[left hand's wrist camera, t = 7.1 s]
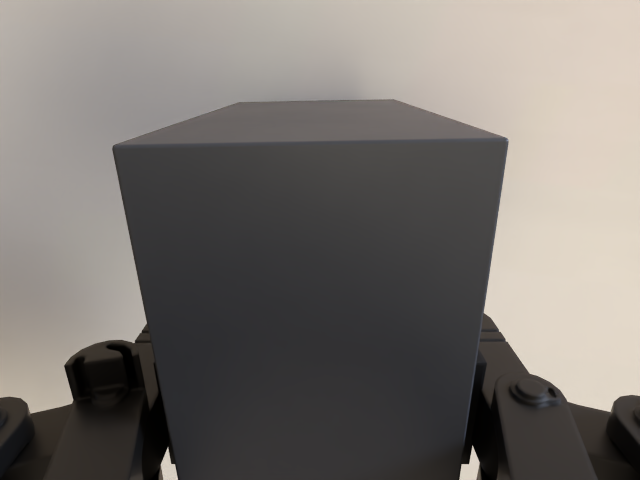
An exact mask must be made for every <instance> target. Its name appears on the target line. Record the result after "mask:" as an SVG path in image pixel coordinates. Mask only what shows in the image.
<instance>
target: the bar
mask: <svg viewBox="0 0 640 480" xmlns="http://www.w3.org/2000/svg"><path fill="white" fill-rule="evenodd" d="M507 149H508V139H507V138H505V137H502V136H499V135H496V134H493V133H490V132H488V131H485V130H482V129H479V128H476V127H473V126H470V125H467V124H464V123H461V122H458V121H455V120H452V119H449V118H447V117H444V116H441V115H438V114H435V113H432V112H429V111H426V110H423V109H420V108H417V107H414V106H411V105H408V104H406V103H403V102H400V101H397V100H394V99H393V100H340V101H287V102H239V103H236V104H233V105H230V106H227V107H224V108H221V109H218V110H215V111H212V112H209V113H207V114H204V115H201V116H198V117H195V118H192V119H189V120H186V121H183V122H180V123H177V124H174V125H171V126H168V127H165V128H163V129H160V130H157V131H154V132H151V133H148V134H145V135H142V136H139V137H136V138H133V139H130V140H127V141H124V142H121V143H119V144H116V145H114V146H113V154H114V159H115V164H116V169H117V175H118V180H119V185H120V190H121V195H122V200H123V205H124V210H125V215H126V220H127V225H128V230H129V235H130V240H131V245H132V250H133V255H134V260H135V265H136V270H137V275H138V280H139V285H140V290H141V295H142V300H143V305H144V310H145V315H146V320H147V325H148V330H149V335H150V340H151V345H152V350H153V355H154V360H155V365H156V370H157V375H158V380H159V386H160V391H161V396H162V401H163V406H164V411H165V416H166V421H167V426H168V431H169V436H170V441H171V446H172V451H173V456H174V461H175V466H176V471H177V476H178V480H459V477H460V471H461V464H462V457H463V450H464V443H465V436H466V429H467V423H468V416H469V409H470V402H471V395H472V388H473V382H474V375H475V368H476V361H477V354H478V347H479V340H480V334H481V327H482V320H483V313H484V306H485V299H486V292H487V286H488V279H489V272H490V265H491V258H492V251H493V245H494V238H495V231H496V224H497V217H498V210H499V203H500V197H501V190H502V183H503V176H504V169H505V162H506V155H507Z"/></svg>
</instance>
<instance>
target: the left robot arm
mask: <svg viewBox="0 0 640 480" xmlns="http://www.w3.org/2000/svg"><path fill="white" fill-rule="evenodd" d="M64 367H65V371H66V374H67V378H68V381H69V385H70V389H71V392H72V396H73V400H74V401H73V403H72V404H70V405H67V406H63V407H59V408H55V409H50V410H46V411H41V412H37V413H32V414H30V411H29V408H28V405H27V403H26V402H24V401H23V400H22V399H21V398H15V397H4V398H0V480H163V476H162V470H161V462H162V460H163V457H164V455H165V452H166V450H167V448H169V453H170V459H171V464H175V461H174V456H173V451H172V446H171V441H170V436H169V431H168V426H167V421H166V416H165V411H164V406H163V401H162V396H161V391H160V386H159V380H158V375H157V370H156V365H155V360H154V355H153V350H152V345H151V340H150V335H149V330H148V325H147V324H146V326H145V327H144V329H143V330H142V333H140V334H139V336H138V337H137V339H136V340H135V343H132V342H128V341H124V340H109V341H105V342H101V343H96V344H93V345H91V346H89V347H87V348H84V349H82V350H80V351H79V352H78V353H76V354H75V355H73V356H72V357H71V358H70V359H69V360H68V362H67V363H66V364H65V365H64ZM472 445H473V447H474V450H475V452H476V454H477V457H478V459H479V462H480V465H479V470H478V475H477V480H640V396H635V395H629V396H622V397H619V398H618V399H617V400H616V401H614V403H613V406H612V409H611V412H607V411H603V410H598V409H594V408H589V407H585V406H580V405H576V404H573V403H569V402H567V400H566V398H565V397H564V395H563V394H562V392H561V391H560V390H559V389H558V388H557V387H555V386H554V385H553V384H552V383H550V382H548V381H546V380H544V379H542V378H540V377H538V376H535V375H532V374H529V372H528V371H527V369H526V368H525V367H524V365H523V364H522V362H521V361H520V359H519V358H518V357H517V355H516V354H515V352H514V351H513V349H512V348H511V347H510V345H509V344H508V342H506V341H505V338H504V336H503V335H502V334H501V332H499V329H498V328H497V326H496V325H495V324H494V322H493V321H492V319H491V318H490V317H489V316H487V315H486V314H484V313H483V320H482V327H481V334H480V340H479V347H478V354H477V361H476V368H475V375H474V382H473V388H472V395H471V402H470V409H469V416H468V423H467V429H466V436H465V443H464V450H463V457H462V464H469V461H470V455H471V450H472Z"/></svg>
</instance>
